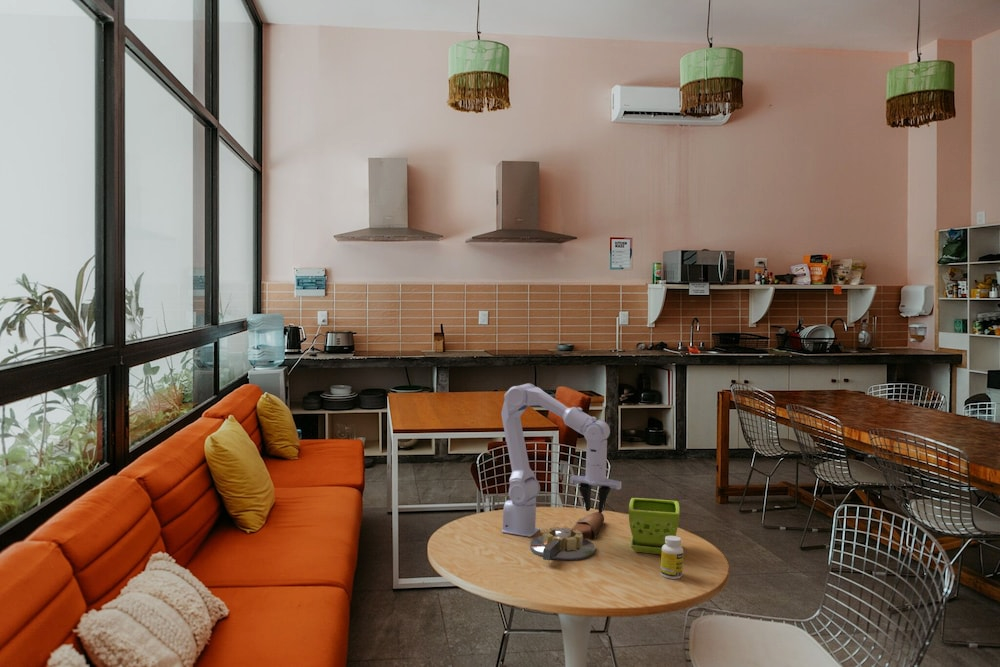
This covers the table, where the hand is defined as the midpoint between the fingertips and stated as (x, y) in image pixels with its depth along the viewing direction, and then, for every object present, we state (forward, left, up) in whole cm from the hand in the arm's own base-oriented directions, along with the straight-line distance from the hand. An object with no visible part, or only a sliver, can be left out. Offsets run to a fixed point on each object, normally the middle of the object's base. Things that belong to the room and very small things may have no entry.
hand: (594, 511), depth 206 cm
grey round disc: (-7, -7, -10) cm, 14 cm away
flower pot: (+16, +5, -10) cm, 20 cm away
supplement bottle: (+24, -13, -10) cm, 29 cm away
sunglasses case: (-5, +13, -11) cm, 18 cm away
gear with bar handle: (-7, -11, -8) cm, 16 cm away
